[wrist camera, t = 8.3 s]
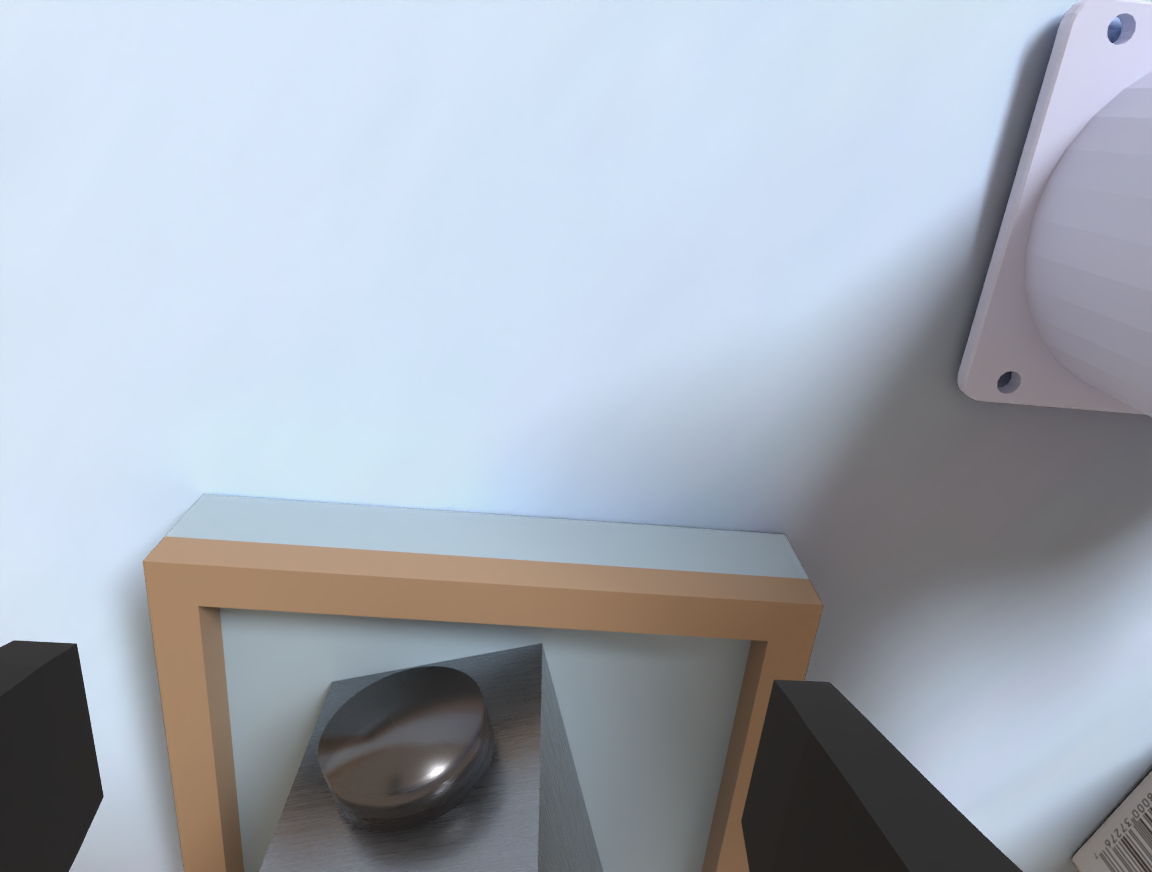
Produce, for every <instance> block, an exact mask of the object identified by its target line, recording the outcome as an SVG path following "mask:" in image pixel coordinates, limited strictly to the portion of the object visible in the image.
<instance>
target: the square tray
mask: <svg viewBox="0 0 1152 872" xmlns="http://www.w3.org/2000/svg"><path fill="white" fill-rule="evenodd" d="M143 566H144V574H145V581H146V589H147V596H148V604H149V611H150V619H151V626H152V634H153V641H154V649H155V656H156V664H157V671H158V679H159V686H160V694H161V702H162V709H163V717H164V724H165V732H166V739H167V747H168V754H169V762H170V769H171V777H172V784H173V792H174V799H175V807H176V814H177V822H178V829H179V837H180V844H181V852H182V859H183V867H184V872H259V871H260V868H261V866H262V863H263V861H264V858H265V855H266V853H267V850H268V847H269V845H270V842H271V840H272V837H273V834H274V832H275V829H276V827H277V824H278V821H279V819H280V816H281V814H282V811H283V808H284V806H285V803H286V800H287V798H288V795H289V793H290V790H291V787H292V785H293V782H294V780H295V777H296V774H297V772H298V769H299V767H300V764H301V761H302V759H303V756H304V753H305V751H306V748H307V746H308V743H309V740H310V738H311V735H312V733H313V730H314V727H315V725H316V722H317V720H318V717H319V714H320V712H321V709H322V706H323V704H324V701H325V699H326V696H327V693H328V691H329V688H330V686H331V683H332V682H333V681H338V680H344V679H349V678H355V677H360V676H366V675H371V674H377V673H382V672H387V671H393V670H398V669H404V668H409V667H415V666H420V665H426V664H431V663H437V662H442V661H447V660H453V659H458V658H464V657H469V656H475V655H480V654H486V653H491V652H496V651H502V650H507V649H513V648H518V647H524V646H529V645H535V644H540V643H542V644H543V648H544V651H545V655H546V659H547V663H548V666H549V670H550V674H551V678H552V681H553V685H554V689H555V693H556V696H557V700H558V704H559V707H560V711H561V715H562V719H563V722H564V726H565V730H566V734H567V737H568V741H569V745H570V749H571V752H572V756H573V760H574V764H575V767H576V771H577V775H578V779H579V782H580V786H581V790H582V794H583V797H584V801H585V805H586V809H587V812H588V816H589V820H590V824H591V827H592V831H593V835H594V839H595V842H596V846H597V850H598V854H599V857H600V861H601V865H602V869H603V872H749V866H748V860H747V854H746V848H745V842H744V836H743V830H742V824H741V819H742V815H743V810H744V806H745V802H746V798H747V793H748V789H749V785H750V780H751V776H752V772H753V767H754V763H755V759H756V754H757V750H758V746H759V742H760V737H761V733H762V729H763V724H764V720H765V716H766V711H767V707H768V703H769V698H770V694H771V690H772V686H773V681H774V680H793V681H804V680H805V676H806V672H807V668H808V664H809V660H810V656H811V652H812V648H813V644H814V640H815V636H816V632H817V628H818V624H819V620H820V616H821V612H822V608H823V604H822V602H821V600H820V598H819V596H818V594H817V593H816V591H815V589H814V587H813V585H812V583H811V582H810V580H809V578H808V576H807V574H806V572H805V570H804V569H803V567H802V565H801V563H800V561H799V559H798V557H797V556H796V554H795V552H794V550H793V548H792V546H791V544H790V543H789V541H788V539H787V537H786V535H785V534H772V533H758V532H744V531H729V530H715V529H701V528H686V527H672V526H658V525H643V524H629V523H615V522H600V521H586V520H572V519H558V518H543V517H529V516H515V515H500V514H486V513H472V512H457V511H443V510H429V509H414V508H400V507H386V506H371V505H357V504H343V503H328V502H314V501H300V500H285V499H271V498H257V497H242V496H228V495H214V494H203V495H202V496H201V497H200V498H199V499H198V500H197V501H196V503H195V504H194V505H193V506H192V507H191V508H190V509H189V510H188V512H187V513H186V514H185V515H184V516H183V517H182V518H181V519H180V520H179V522H178V523H177V524H176V525H175V526H174V527H173V528H172V529H171V530H170V532H169V533H168V534H167V535H166V536H165V537H164V538H163V539H162V540H161V542H160V543H159V544H158V545H157V546H156V547H155V548H154V549H153V550H152V552H151V553H150V554H149V555H148V556H147V557H146V558H145V559H144V561H143Z"/></svg>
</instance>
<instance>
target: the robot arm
mask: <svg viewBox="0 0 1152 872" xmlns="http://www.w3.org/2000/svg"><path fill="white" fill-rule="evenodd" d="M1115 17H1118V18H1119V19H1120V21H1121V23H1122V30H1121V34H1120V36H1119V37H1118V39H1117V41H1115V42H1114V43H1111V42H1110V41H1109V39H1108V37H1107V32H1108V26H1109V25H1110V23H1111V21H1112V20H1113V19H1114V18H1115ZM1009 371H1011V372H1012V374H1011V379H1010V381H1009V382H1008V384H1006V385H1005V386H1003V387H1000V388H997V381H998V380H999V378H1000V376H1001V375H1003V374H1004V373H1006V372H1009ZM957 383H958V385H959V388H960V390H961V391H962V392H963V393H965V394H966V395H967V396H969V397H970V398H971V399H974V400H977V401H984V402H996V403H1008V404H1021V405H1033V406H1045V407H1057V408H1070V409H1082V410H1094V411H1107V412H1119V413H1131V414H1143V415H1149V416H1150V417H1152V2H1148V1H1139V0H1081V1H1080V2H1078V3H1076V4H1074V5H1073V6H1072V7H1071V8H1070V9H1069V10H1068V11H1067V12H1066V13H1065V14H1064V17H1063V19H1062V21H1061V23H1060V25H1059V28H1058V32H1057V35H1056V39H1055V42H1054V46H1053V49H1052V53H1051V56H1050V59H1049V63H1048V66H1047V70H1046V73H1045V77H1044V80H1043V83H1042V87H1041V90H1040V94H1039V97H1038V101H1037V104H1036V108H1035V111H1034V114H1033V118H1032V121H1031V125H1030V128H1029V132H1028V135H1027V138H1026V142H1025V145H1024V149H1023V152H1022V156H1021V159H1020V163H1019V166H1018V169H1017V173H1016V176H1015V180H1014V183H1013V187H1012V190H1011V193H1010V197H1009V200H1008V204H1007V207H1006V211H1005V214H1004V218H1003V221H1002V224H1001V228H1000V231H999V235H998V238H997V242H996V245H995V248H994V252H993V255H992V259H991V262H990V266H989V269H988V272H987V276H986V279H985V283H984V286H983V290H982V293H981V297H980V300H979V303H978V307H977V310H976V314H975V317H974V321H973V324H972V327H971V331H970V334H969V338H968V341H967V345H966V348H965V352H964V355H963V358H962V362H961V365H960V369H959V372H958V380H957ZM103 797H104V796H103V791H102V785H101V779H100V774H99V768H98V762H97V756H96V751H95V745H94V739H93V734H92V728H91V722H90V716H89V711H88V705H87V699H86V694H85V688H84V682H83V676H82V671H81V665H80V659H79V654H78V648H77V644H72V643H53V642H33V641H12V642H10V643H8V644H6V645H4V646H2V647H0V872H69V870H70V868H71V866H72V864H73V862H74V860H75V858H76V855H77V853H78V851H79V849H80V847H81V845H82V843H83V840H84V838H85V836H86V834H87V832H88V829H89V827H90V825H91V823H92V821H93V819H94V816H95V814H96V812H97V810H98V808H99V805H100V803H101V801H102V799H103ZM741 824H742V830H743V836H744V842H745V848H746V854H747V860H748V866H749V872H1023V871H1022V870H1020V869H1019V868H1018V867H1017V866H1016V865H1015V864H1014V863H1013V862H1012V861H1011V860H1010V859H1009V858H1008V857H1006V856H1005V855H1004V854H1003V853H1002V852H1001V851H1000V850H999V849H998V848H997V847H996V846H995V845H994V844H993V843H992V842H991V841H990V840H989V839H988V838H986V837H985V836H984V835H983V834H982V833H981V832H980V831H979V830H978V829H977V828H976V827H975V826H974V825H973V824H972V823H971V822H970V821H969V820H968V819H967V818H966V817H965V816H964V815H963V814H962V813H961V812H960V811H959V810H957V809H956V808H955V807H954V806H953V805H952V804H951V803H950V802H949V801H948V800H947V799H946V798H945V797H944V796H943V795H942V794H941V793H940V792H939V791H938V790H937V789H936V788H935V787H934V786H933V785H932V784H931V783H930V782H929V781H928V780H927V779H926V778H925V777H924V776H923V775H922V774H921V773H920V772H919V771H918V770H917V769H916V768H915V767H914V766H913V765H912V764H911V763H910V762H909V761H908V760H907V759H906V758H905V757H904V756H903V755H902V754H901V753H900V752H899V751H898V750H897V749H896V748H895V747H894V746H893V745H892V744H891V743H890V742H889V741H888V740H887V739H886V738H885V737H884V736H883V735H882V734H881V733H880V732H879V731H878V730H877V729H876V728H875V727H874V726H873V725H872V724H871V723H870V722H869V721H868V720H867V719H866V718H865V716H863V715H862V714H861V713H860V712H859V711H858V710H857V709H856V708H855V707H854V706H853V705H852V704H851V703H850V702H849V701H848V700H847V699H846V698H845V697H844V696H843V695H842V694H841V693H840V692H839V691H838V690H837V689H836V688H835V687H834V686H833V685H832V684H831V683H829V682H813V681H793V680H774V681H773V686H772V690H771V694H770V698H769V703H768V707H767V711H766V716H765V720H764V724H763V729H762V733H761V737H760V742H759V746H758V750H757V754H756V759H755V763H754V767H753V772H752V776H751V780H750V785H749V789H748V793H747V798H746V802H745V806H744V810H743V815H742V819H741Z"/></svg>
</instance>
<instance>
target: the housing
mask: <svg viewBox="0 0 1152 872" xmlns="http://www.w3.org/2000/svg"><path fill="white" fill-rule="evenodd" d="M259 872H603V869H602V865H601V861H600V857H599V854H598V850H597V846H596V842H595V839H594V835H593V831H592V827H591V824H590V820H589V816H588V812H587V809H586V805H585V801H584V797H583V794H582V790H581V786H580V782H579V779H578V775H577V771H576V767H575V764H574V760H573V756H572V752H571V749H570V745H569V741H568V737H567V734H566V730H565V726H564V722H563V719H562V715H561V711H560V707H559V704H558V700H557V696H556V693H555V689H554V685H553V681H552V678H551V674H550V670H549V666H548V663H547V659H546V655H545V651H544V648H543V644H542V643H540V644H535V645H529V646H524V647H518V648H513V649H507V650H502V651H496V652H491V653H486V654H480V655H475V656H469V657H464V658H458V659H453V660H447V661H442V662H437V663H431V664H426V665H420V666H415V667H409V668H404V669H398V670H393V671H387V672H382V673H377V674H371V675H366V676H360V677H355V678H349V679H344V680H338V681H333V682H332V683H331V686H330V688H329V691H328V693H327V696H326V699H325V701H324V704H323V706H322V709H321V712H320V714H319V717H318V720H317V722H316V725H315V727H314V730H313V733H312V735H311V738H310V740H309V743H308V746H307V748H306V751H305V753H304V756H303V759H302V761H301V764H300V767H299V769H298V772H297V774H296V777H295V780H294V782H293V785H292V787H291V790H290V793H289V795H288V798H287V800H286V803H285V806H284V808H283V811H282V814H281V816H280V819H279V821H278V824H277V827H276V829H275V832H274V834H273V837H272V840H271V842H270V845H269V847H268V850H267V853H266V855H265V858H264V861H263V863H262V866H261V868H260V871H259Z"/></svg>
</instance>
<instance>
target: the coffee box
mask: <svg viewBox="0 0 1152 872" xmlns="http://www.w3.org/2000/svg"><path fill="white" fill-rule="evenodd" d="M1072 861H1073V864H1074V866H1075V867H1076V869H1077V870H1078V872H1152V771H1151V772H1150V773H1149V774H1148V775H1147V776H1146V777H1145V778H1144V779H1143V781H1142V782H1141V783H1140V784H1139V785H1138V786H1137V787H1136V788H1135V789H1134V790H1133V792H1132V793H1131V794H1130V795H1129V796H1128V797H1127V798H1126V799H1125V800H1124V801H1123V802H1122V804H1121V805H1120V806H1119V807H1118V808H1117V809H1116V810H1115V811H1114V812H1113V813H1112V814H1111V815H1110V816H1109V818H1108V819H1107V820H1106V821H1105V822H1104V823H1103V824H1102V825H1101V826H1100V827H1099V829H1098V830H1097V831H1096V832H1095V833H1094V834H1093V835H1092V836H1091V837H1090V838H1089V839H1088V840H1087V842H1086V843H1085V844H1084V845H1083V846H1082V847H1081V848H1080V849H1079V850H1078V851H1077V852H1076V854H1075V855H1074V856H1073V858H1072Z"/></svg>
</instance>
